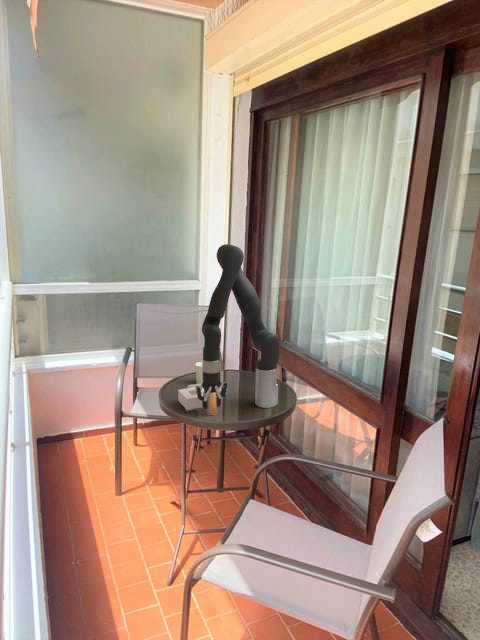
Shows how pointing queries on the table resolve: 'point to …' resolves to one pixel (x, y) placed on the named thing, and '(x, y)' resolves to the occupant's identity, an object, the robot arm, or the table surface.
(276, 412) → the table surface
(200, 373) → the white cup
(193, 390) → the socket block
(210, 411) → the plug
